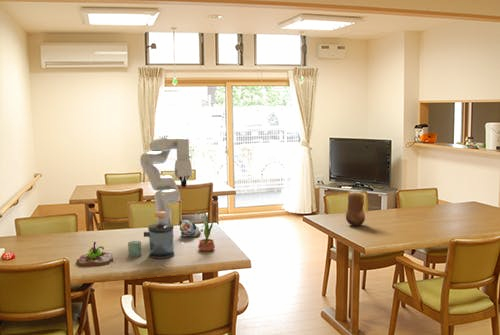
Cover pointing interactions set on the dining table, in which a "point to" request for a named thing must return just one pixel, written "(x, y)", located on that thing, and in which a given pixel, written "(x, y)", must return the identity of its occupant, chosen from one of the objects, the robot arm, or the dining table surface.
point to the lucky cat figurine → (188, 228)
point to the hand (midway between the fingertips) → (183, 186)
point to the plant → (95, 258)
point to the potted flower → (206, 235)
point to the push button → (160, 216)
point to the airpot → (160, 241)
